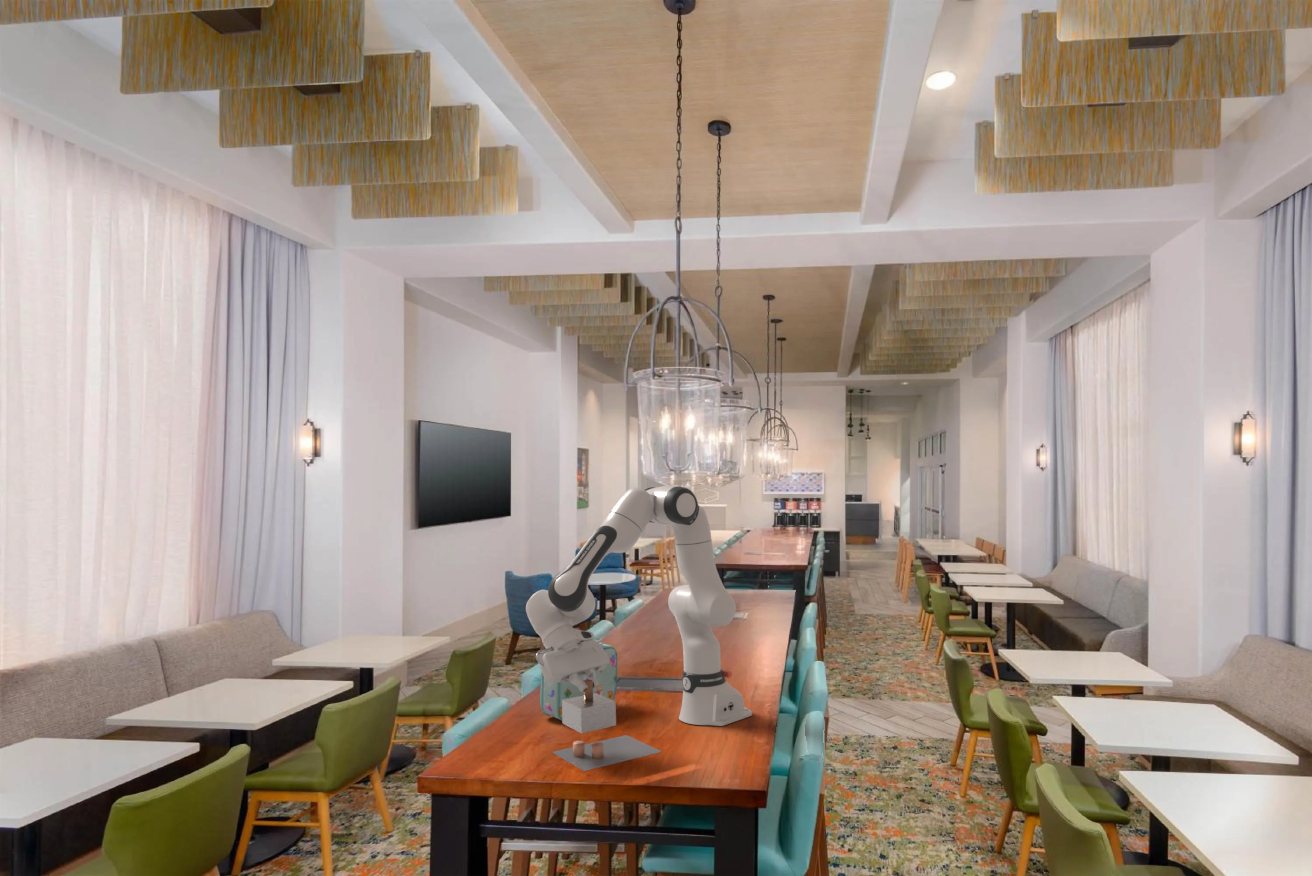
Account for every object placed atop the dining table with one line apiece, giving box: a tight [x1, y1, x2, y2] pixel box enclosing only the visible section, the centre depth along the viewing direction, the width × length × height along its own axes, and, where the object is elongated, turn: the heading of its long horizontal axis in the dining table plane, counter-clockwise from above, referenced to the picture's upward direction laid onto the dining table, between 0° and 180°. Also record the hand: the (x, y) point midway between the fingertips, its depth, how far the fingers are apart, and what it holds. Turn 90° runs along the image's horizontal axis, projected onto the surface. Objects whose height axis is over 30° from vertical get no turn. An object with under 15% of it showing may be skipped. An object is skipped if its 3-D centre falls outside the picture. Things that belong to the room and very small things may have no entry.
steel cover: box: [561, 680, 617, 734], centre depth 205 cm, size 10×10×11 cm
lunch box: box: [539, 639, 618, 721], centre depth 248 cm, size 27×10×21 cm, turn 141°
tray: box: [551, 734, 663, 772], centre depth 207 cm, size 23×17×4 cm
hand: (590, 688), depth 205 cm, fingers closed on steel cover, 2 cm apart
